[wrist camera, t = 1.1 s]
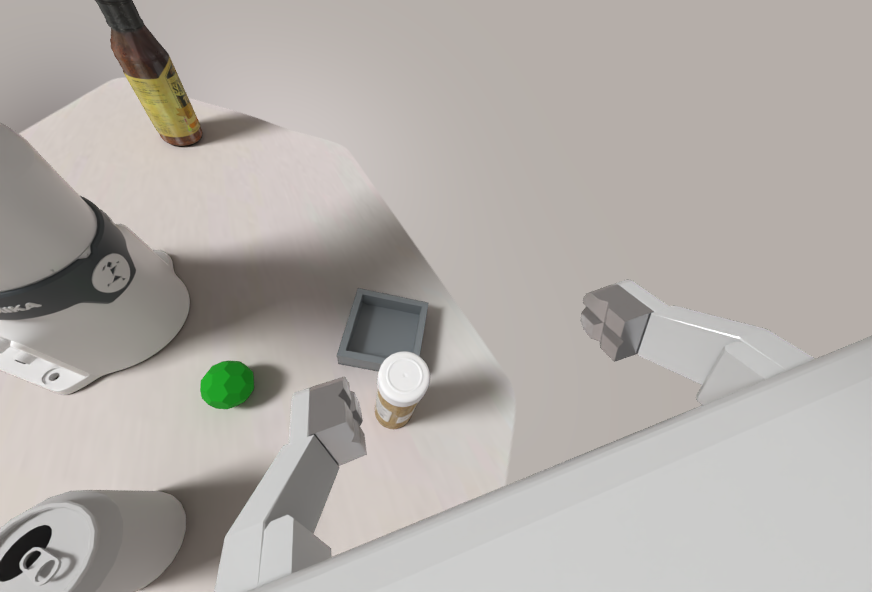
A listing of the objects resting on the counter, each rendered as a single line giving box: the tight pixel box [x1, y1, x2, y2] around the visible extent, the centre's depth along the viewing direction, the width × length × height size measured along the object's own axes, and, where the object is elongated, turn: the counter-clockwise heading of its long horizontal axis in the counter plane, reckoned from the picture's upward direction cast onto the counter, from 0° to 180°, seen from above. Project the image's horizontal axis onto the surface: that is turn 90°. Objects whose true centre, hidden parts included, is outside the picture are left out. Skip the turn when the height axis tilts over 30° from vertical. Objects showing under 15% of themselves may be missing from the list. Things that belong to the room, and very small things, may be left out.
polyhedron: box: [200, 361, 254, 409], centre depth 35 cm, size 5×5×5 cm
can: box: [0, 490, 186, 592], centre depth 25 cm, size 8×8×12 cm
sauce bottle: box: [95, 0, 202, 146], centre depth 48 cm, size 7×6×20 cm
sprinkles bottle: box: [375, 351, 430, 429], centre depth 34 cm, size 5×5×14 cm
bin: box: [337, 288, 428, 371], centre depth 43 cm, size 10×10×3 cm
